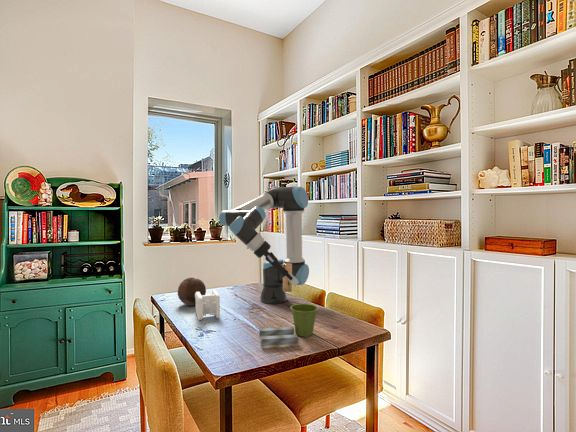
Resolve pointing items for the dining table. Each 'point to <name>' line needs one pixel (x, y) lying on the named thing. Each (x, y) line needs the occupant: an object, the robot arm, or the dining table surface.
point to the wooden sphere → (190, 290)
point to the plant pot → (304, 318)
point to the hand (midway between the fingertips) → (296, 282)
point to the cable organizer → (207, 304)
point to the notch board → (277, 337)
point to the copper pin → (286, 283)
